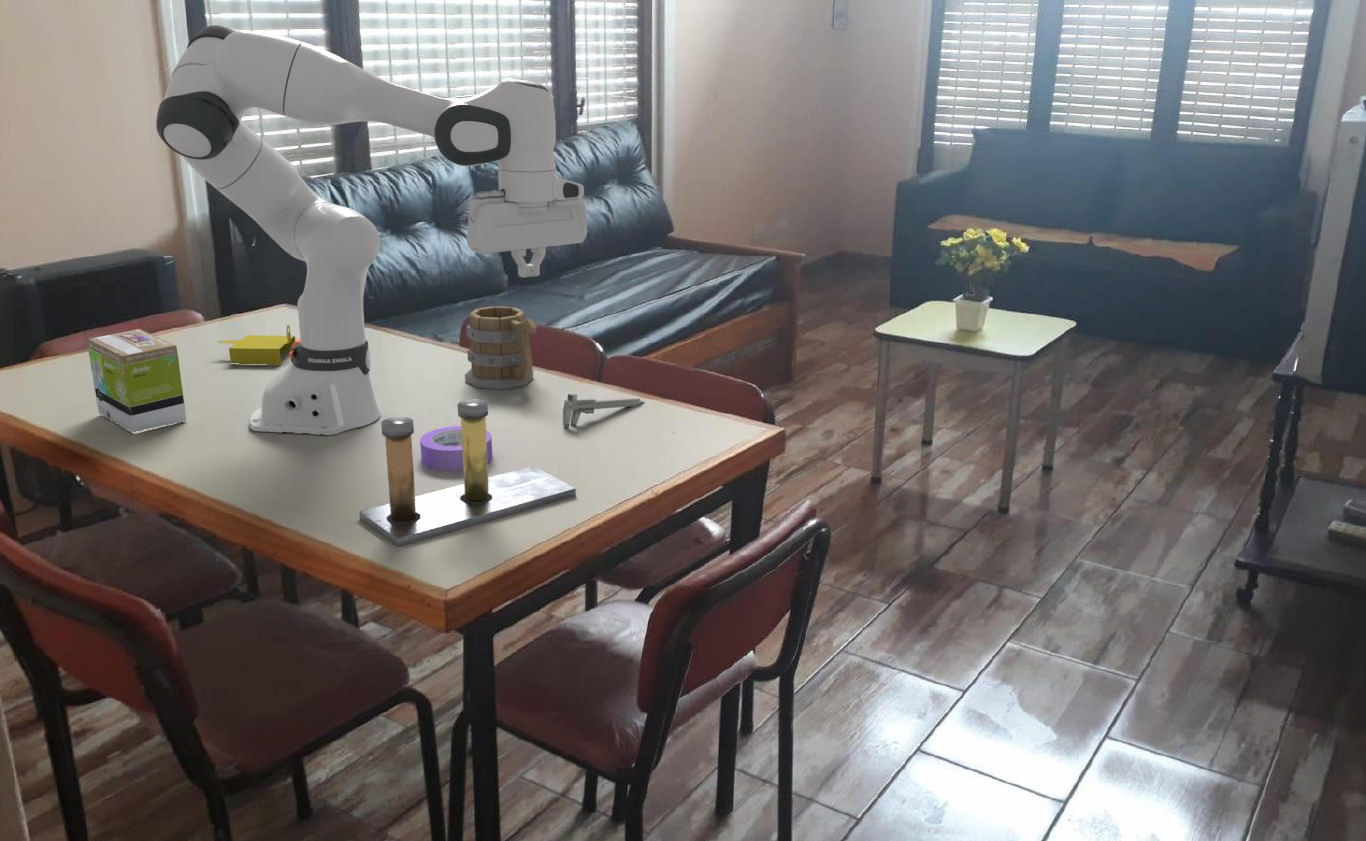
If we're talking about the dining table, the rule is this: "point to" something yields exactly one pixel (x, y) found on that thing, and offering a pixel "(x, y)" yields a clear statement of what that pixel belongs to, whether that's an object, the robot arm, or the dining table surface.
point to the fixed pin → (400, 467)
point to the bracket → (260, 348)
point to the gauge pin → (474, 448)
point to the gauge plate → (469, 505)
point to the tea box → (137, 379)
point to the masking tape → (446, 448)
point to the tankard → (499, 348)
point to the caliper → (591, 406)
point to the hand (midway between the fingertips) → (528, 276)
